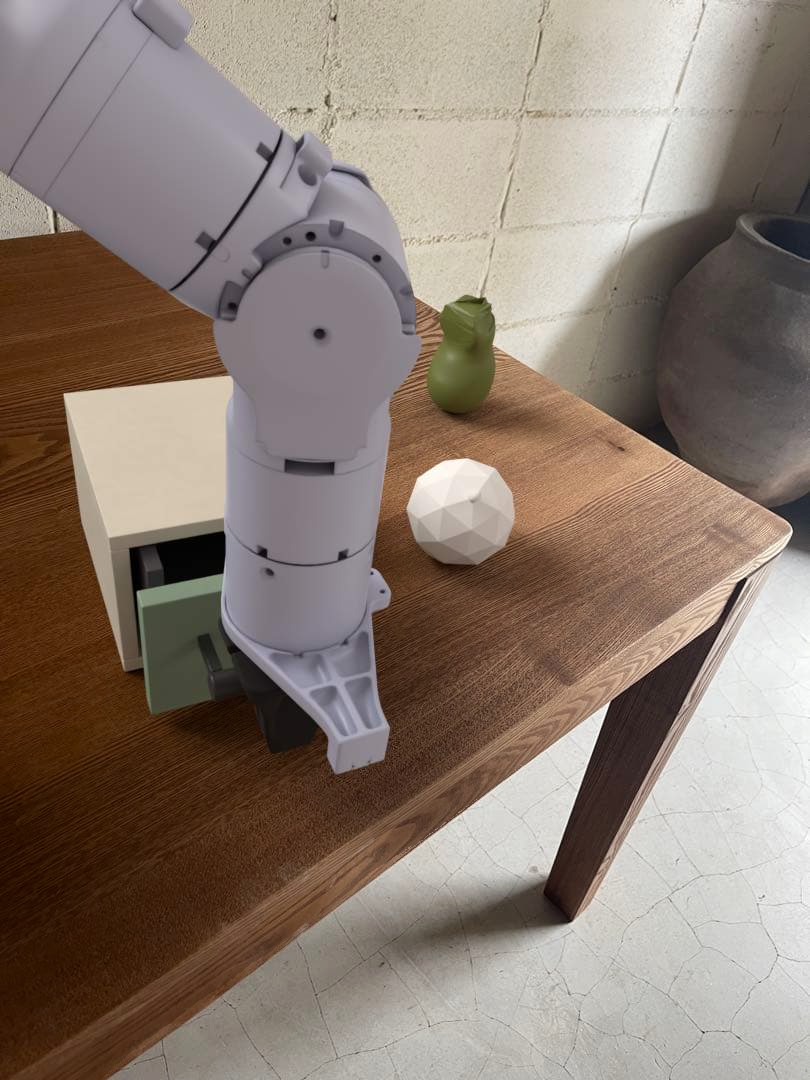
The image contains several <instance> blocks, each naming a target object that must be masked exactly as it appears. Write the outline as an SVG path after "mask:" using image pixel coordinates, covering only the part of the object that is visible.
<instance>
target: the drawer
mask: <svg viewBox="0 0 810 1080" xmlns="http://www.w3.org/2000/svg"><path fill="white" fill-rule="evenodd" d="M129 554H130V565H131V575H132V585H133V595H134V605H135V609H136V612H137V615H138V618H139V622H140V633H141V643H142V654H143V664H144V667H143V674H144V685H145V694H146V701H147V704H148V708H149V711H150V714H151V715H152V716H153V715H158V714H162V713H166V712H170V711H174V710H178V709H181V708H185V707H189V706H193V705H196V704H200V703H204V702H209V701H213V702H214V703H219V702H222V701H226V700H230V699H234V698H237V697H242V696H245V695H246V693H245V691H244V689H243V687H242V685H241V683H240V680H239V678H238V675H237V673H236V670H235V668H234V665H233V663H232V660H231V655H230V654H229V652H228V650H227V648H226V645H225V643H224V640H223V638H222V635H221V633H220V630H219V628H218V621H219V618H220V616H221V595H222V586H223V577H224V567H225V558H226V535H225V533H224V531H220V532H214V533H209V534H203V535H198V536H192V537H187V538H181V539H176V540H170V541H165V542H159V543H154V544H148V545H143V546H137V547H132V548H129ZM246 696H247V695H246Z"/></svg>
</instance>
